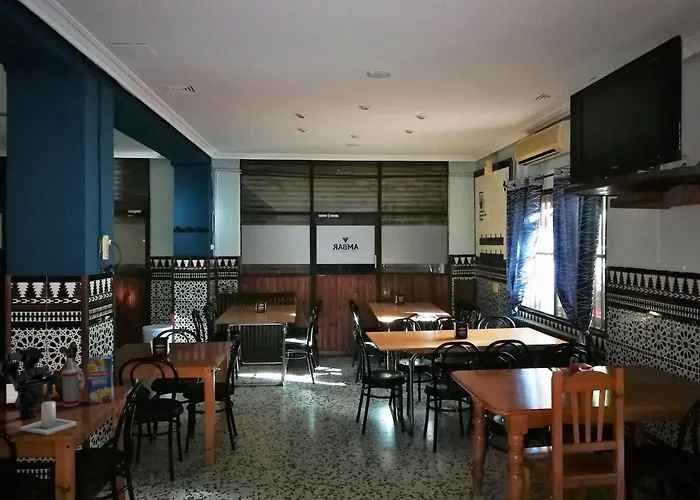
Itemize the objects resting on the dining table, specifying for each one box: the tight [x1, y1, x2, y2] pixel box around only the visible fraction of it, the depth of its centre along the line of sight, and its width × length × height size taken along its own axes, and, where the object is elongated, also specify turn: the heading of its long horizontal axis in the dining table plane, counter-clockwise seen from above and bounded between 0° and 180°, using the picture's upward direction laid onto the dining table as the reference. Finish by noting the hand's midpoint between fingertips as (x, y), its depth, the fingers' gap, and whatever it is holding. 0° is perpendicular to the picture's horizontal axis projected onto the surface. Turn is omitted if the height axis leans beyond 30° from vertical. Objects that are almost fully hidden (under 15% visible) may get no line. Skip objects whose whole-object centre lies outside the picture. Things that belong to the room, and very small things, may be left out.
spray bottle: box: [62, 358, 80, 407], centre depth 319 cm, size 8×8×25 cm
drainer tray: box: [19, 418, 77, 436], centre depth 279 cm, size 18×16×2 cm
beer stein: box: [21, 369, 52, 409], centre depth 319 cm, size 15×11×20 cm
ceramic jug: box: [54, 343, 86, 400], centre depth 335 cm, size 17×15×30 cm
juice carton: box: [86, 355, 114, 405], centre depth 325 cm, size 12×8×24 cm, turn 105°
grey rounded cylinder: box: [40, 400, 57, 428], centre depth 278 cm, size 6×6×11 cm
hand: (41, 396), depth 284 cm, fingers open, 9 cm apart
